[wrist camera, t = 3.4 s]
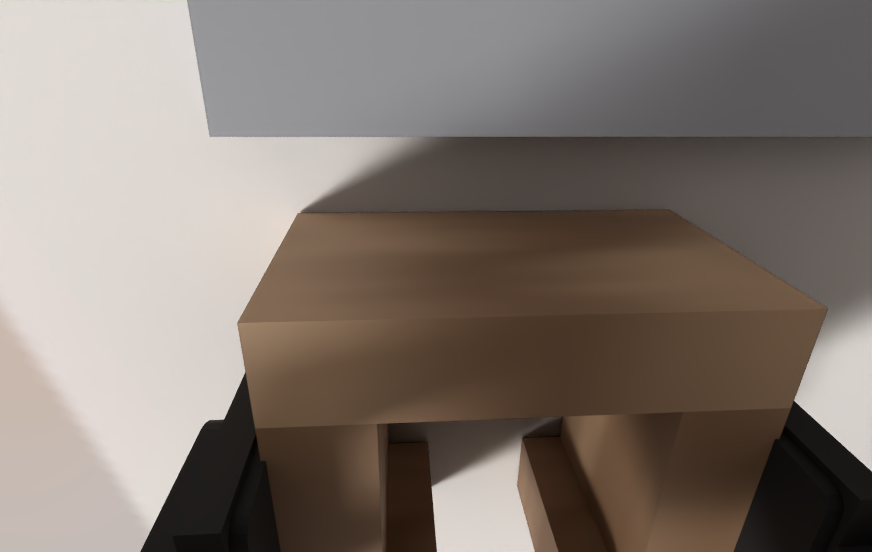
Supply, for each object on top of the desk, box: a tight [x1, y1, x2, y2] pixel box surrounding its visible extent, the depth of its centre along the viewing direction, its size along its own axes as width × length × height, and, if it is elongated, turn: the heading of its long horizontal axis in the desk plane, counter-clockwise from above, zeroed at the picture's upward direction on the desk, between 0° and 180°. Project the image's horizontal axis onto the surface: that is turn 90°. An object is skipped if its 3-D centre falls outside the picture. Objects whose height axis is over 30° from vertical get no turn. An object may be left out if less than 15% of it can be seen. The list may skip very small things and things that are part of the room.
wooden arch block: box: [237, 210, 828, 552], centre depth 9 cm, size 7×7×4 cm
